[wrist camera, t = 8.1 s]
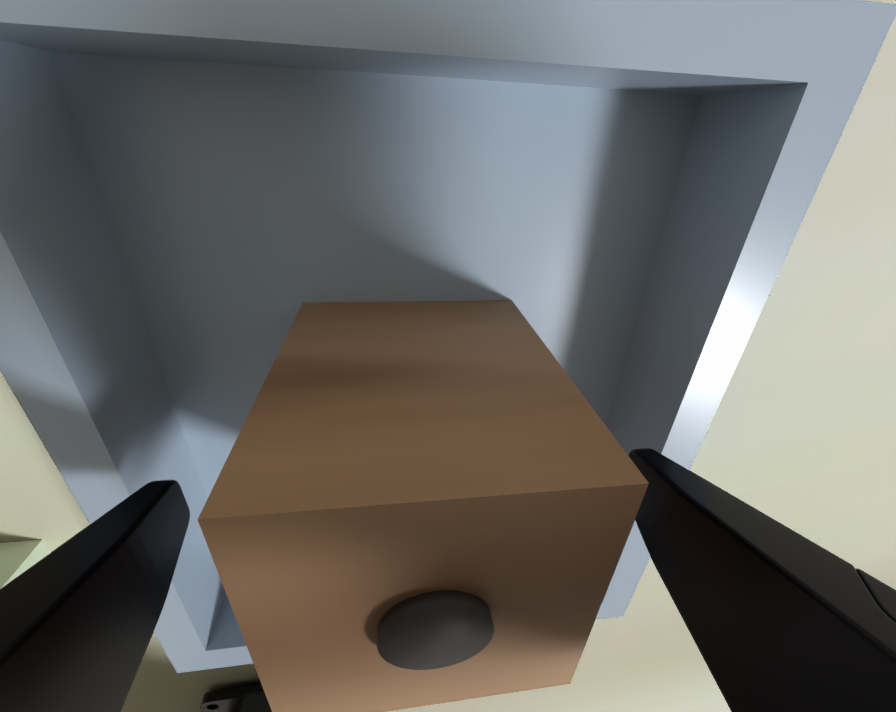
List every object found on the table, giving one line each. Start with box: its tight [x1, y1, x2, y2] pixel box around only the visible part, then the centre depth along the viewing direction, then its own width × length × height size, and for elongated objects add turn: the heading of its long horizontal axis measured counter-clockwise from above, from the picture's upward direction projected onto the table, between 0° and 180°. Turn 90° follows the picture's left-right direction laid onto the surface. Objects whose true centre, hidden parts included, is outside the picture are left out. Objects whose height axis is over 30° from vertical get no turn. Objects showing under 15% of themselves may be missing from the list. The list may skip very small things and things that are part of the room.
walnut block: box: [197, 300, 649, 712], centre depth 8 cm, size 5×5×6 cm
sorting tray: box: [0, 0, 896, 673], centre depth 10 cm, size 16×14×3 cm
